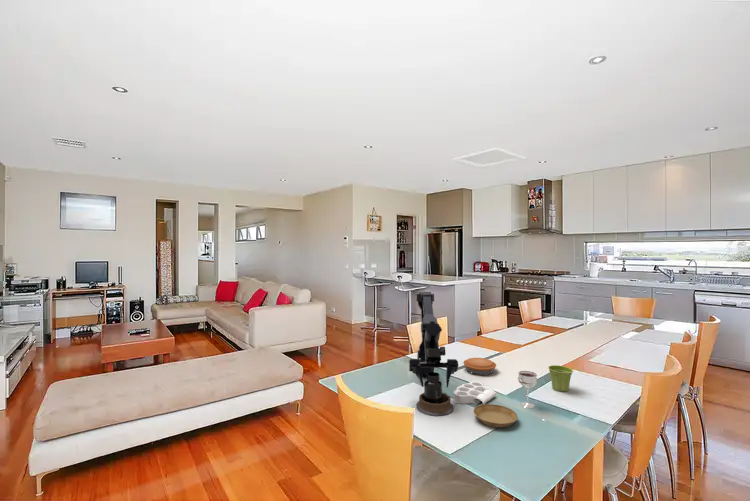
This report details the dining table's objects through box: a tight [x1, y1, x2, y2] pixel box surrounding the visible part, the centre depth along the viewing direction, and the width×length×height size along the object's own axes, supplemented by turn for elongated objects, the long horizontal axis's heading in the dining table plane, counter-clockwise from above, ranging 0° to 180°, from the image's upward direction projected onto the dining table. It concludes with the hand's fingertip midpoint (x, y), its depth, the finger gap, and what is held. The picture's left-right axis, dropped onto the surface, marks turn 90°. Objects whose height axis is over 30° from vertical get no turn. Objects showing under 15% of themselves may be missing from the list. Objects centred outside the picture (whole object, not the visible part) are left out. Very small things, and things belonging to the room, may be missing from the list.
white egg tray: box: [453, 381, 497, 406], centre depth 145 cm, size 3×18×15 cm
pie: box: [462, 357, 497, 376], centre depth 175 cm, size 15×16×5 cm
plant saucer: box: [472, 403, 519, 428], centre depth 126 cm, size 15×15×3 cm
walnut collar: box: [415, 392, 455, 417], centre depth 136 cm, size 14×14×4 cm
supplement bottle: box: [423, 371, 443, 404], centre depth 136 cm, size 7×7×12 cm
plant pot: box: [547, 364, 574, 392], centre depth 152 cm, size 9×9×9 cm
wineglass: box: [517, 370, 538, 409], centre depth 137 cm, size 7×7×12 cm
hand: (435, 386), depth 135 cm, fingers open, 9 cm apart
